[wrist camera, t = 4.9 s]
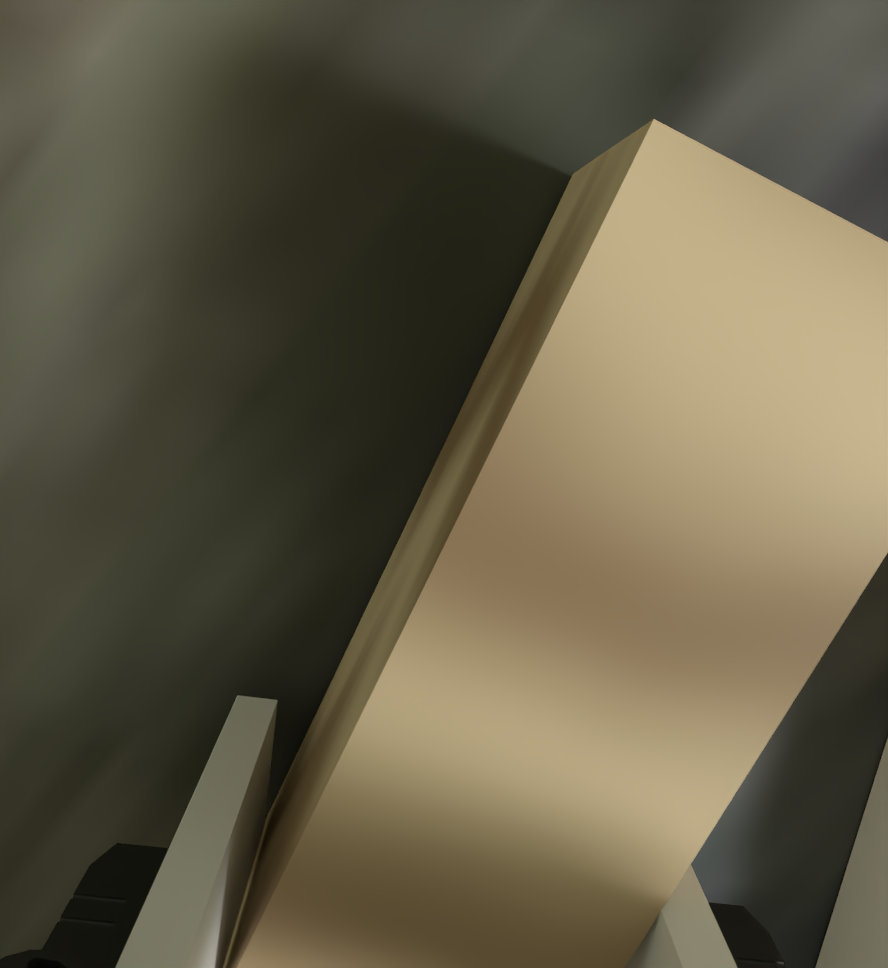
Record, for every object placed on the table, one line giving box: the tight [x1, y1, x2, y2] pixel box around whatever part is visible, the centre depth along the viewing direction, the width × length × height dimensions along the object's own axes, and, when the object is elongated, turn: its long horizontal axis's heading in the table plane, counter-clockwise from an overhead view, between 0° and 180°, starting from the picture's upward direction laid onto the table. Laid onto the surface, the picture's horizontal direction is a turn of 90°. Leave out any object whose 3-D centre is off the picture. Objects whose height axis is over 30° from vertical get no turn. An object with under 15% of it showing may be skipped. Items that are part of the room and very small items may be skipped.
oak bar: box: [223, 119, 888, 968], centre depth 14 cm, size 22×5×5 cm, turn 155°
